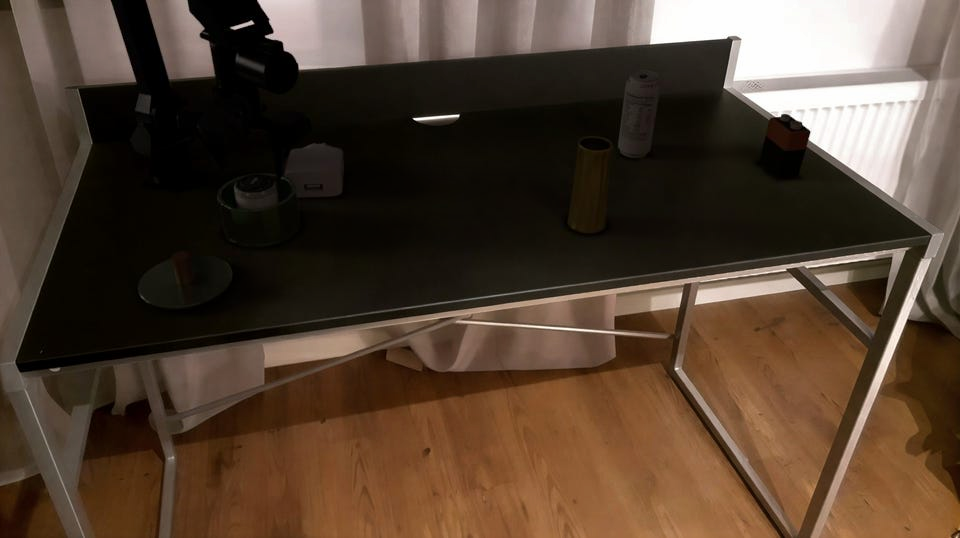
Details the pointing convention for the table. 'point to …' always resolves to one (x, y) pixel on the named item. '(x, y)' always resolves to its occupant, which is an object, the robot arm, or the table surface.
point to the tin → (260, 216)
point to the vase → (590, 185)
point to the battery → (784, 146)
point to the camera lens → (256, 192)
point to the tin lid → (185, 281)
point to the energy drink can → (639, 113)
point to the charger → (316, 170)
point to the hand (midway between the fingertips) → (252, 173)
